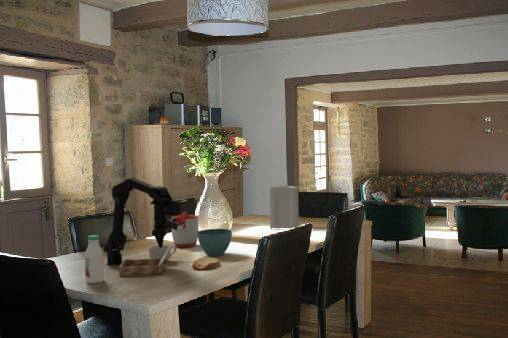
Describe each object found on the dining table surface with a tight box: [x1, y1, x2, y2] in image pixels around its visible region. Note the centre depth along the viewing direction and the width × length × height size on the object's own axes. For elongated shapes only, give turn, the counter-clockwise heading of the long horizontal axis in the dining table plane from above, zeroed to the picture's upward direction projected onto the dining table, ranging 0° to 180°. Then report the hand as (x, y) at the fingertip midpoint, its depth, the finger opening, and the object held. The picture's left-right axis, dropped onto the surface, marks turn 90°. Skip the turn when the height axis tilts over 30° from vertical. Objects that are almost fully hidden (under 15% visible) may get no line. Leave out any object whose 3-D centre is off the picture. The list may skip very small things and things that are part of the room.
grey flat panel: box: [160, 241, 174, 265], centre depth 251 cm, size 9×15×1 cm
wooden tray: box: [118, 258, 164, 277], centre depth 251 cm, size 18×16×4 cm
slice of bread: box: [191, 256, 220, 272], centre depth 260 cm, size 18×18×4 cm
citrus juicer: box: [170, 211, 199, 249], centre depth 308 cm, size 16×17×20 cm
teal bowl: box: [197, 228, 233, 257], centre depth 284 cm, size 18×18×12 cm
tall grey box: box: [268, 185, 300, 230], centre depth 366 cm, size 19×15×28 cm
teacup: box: [148, 244, 177, 263], centre depth 270 cm, size 14×11×8 cm
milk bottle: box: [84, 234, 105, 284], centre depth 233 cm, size 8×8×20 cm
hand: (160, 247), depth 251 cm, fingers closed
